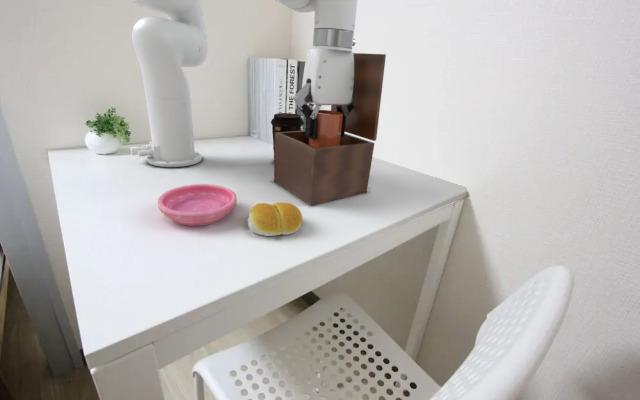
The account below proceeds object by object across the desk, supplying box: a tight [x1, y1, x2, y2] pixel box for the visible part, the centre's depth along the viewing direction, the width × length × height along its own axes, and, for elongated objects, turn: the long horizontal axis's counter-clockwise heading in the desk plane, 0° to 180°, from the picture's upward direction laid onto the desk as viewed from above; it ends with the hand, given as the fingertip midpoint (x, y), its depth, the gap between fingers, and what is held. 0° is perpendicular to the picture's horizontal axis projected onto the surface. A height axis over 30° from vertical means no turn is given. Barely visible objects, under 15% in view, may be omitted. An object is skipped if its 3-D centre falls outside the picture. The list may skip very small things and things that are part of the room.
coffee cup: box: [270, 112, 305, 159], centre depth 81 cm, size 9×8×13 cm
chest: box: [273, 130, 375, 206], centre depth 67 cm, size 16×15×11 cm
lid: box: [330, 52, 387, 142], centre depth 67 cm, size 16×15×5 cm
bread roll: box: [246, 202, 304, 237], centre depth 51 cm, size 8×9×4 cm
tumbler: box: [309, 109, 343, 148], centre depth 65 cm, size 7×7×9 cm
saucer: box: [157, 183, 238, 227], centre depth 53 cm, size 12×12×3 cm
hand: (325, 135), depth 65 cm, fingers closed on tumbler, 6 cm apart
